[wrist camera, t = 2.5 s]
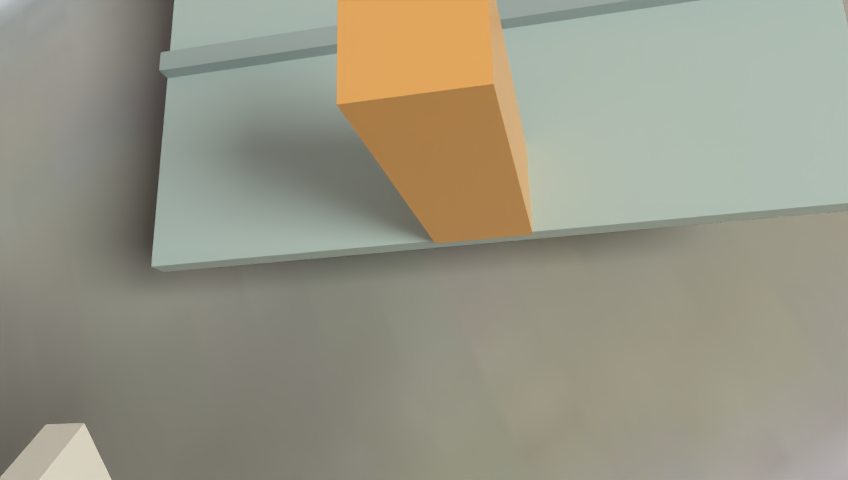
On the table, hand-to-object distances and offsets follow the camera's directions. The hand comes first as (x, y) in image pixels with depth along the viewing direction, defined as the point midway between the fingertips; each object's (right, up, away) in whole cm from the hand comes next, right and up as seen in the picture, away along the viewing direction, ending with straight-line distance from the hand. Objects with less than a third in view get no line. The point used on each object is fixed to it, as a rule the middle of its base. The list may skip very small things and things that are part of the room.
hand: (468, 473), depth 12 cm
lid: (+1, +14, +16) cm, 21 cm away
